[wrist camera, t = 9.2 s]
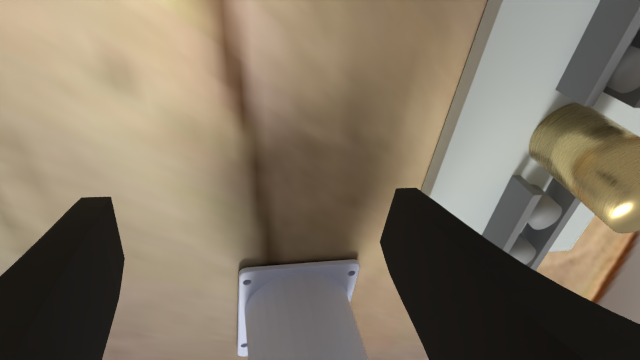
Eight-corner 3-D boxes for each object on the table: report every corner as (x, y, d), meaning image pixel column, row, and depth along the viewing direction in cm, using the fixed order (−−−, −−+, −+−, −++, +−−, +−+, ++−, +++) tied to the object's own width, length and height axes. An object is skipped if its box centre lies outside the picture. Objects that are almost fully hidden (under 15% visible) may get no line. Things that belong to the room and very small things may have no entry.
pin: (573, 162, 24) (658, 229, 19) (517, 164, 23) (593, 236, 19) (608, 102, 22) (714, 164, 17) (548, 103, 21) (643, 168, 16)
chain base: (561, 240, 31) (590, 269, 28) (399, 253, 27) (416, 287, 25) (755, -49, 19) (830, -41, 17) (521, -94, 16) (575, -91, 13)
